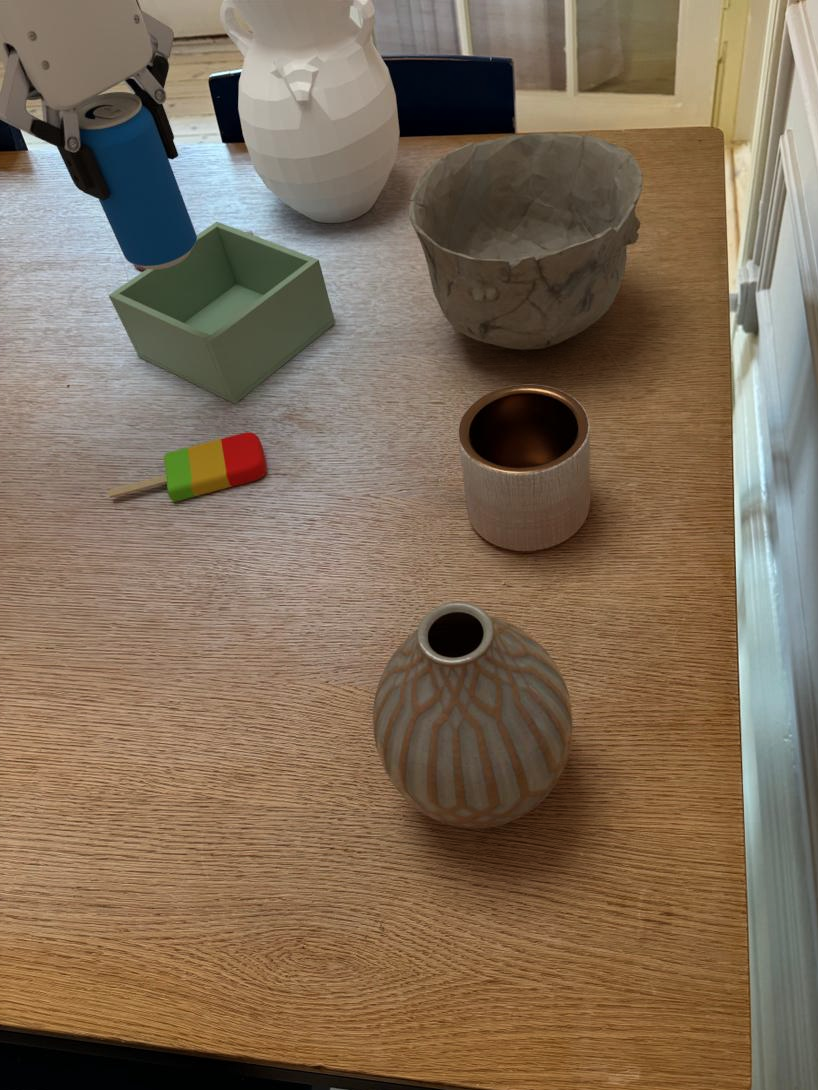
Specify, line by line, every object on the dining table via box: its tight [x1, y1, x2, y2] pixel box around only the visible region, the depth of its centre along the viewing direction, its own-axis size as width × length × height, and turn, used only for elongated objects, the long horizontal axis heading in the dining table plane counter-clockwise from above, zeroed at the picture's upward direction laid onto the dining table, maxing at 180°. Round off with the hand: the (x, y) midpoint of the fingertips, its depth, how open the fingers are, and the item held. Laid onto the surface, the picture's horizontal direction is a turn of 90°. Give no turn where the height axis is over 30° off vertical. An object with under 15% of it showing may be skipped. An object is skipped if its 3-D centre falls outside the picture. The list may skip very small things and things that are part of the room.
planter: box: [456, 383, 591, 552], centre depth 75 cm, size 11×11×10 cm
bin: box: [108, 221, 336, 405], centre depth 94 cm, size 16×16×8 cm
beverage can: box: [78, 91, 198, 269], centre depth 73 cm, size 6×6×12 cm
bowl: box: [408, 132, 644, 351], centre depth 88 cm, size 22×22×15 cm
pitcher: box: [219, 0, 401, 224], centre depth 102 cm, size 19×18×25 cm
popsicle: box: [107, 431, 267, 503], centre depth 84 cm, size 6×15×2 cm, turn 106°
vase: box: [372, 601, 574, 830], centre depth 57 cm, size 13×13×18 cm
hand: (130, 172), depth 72 cm, fingers closed on beverage can, 6 cm apart
